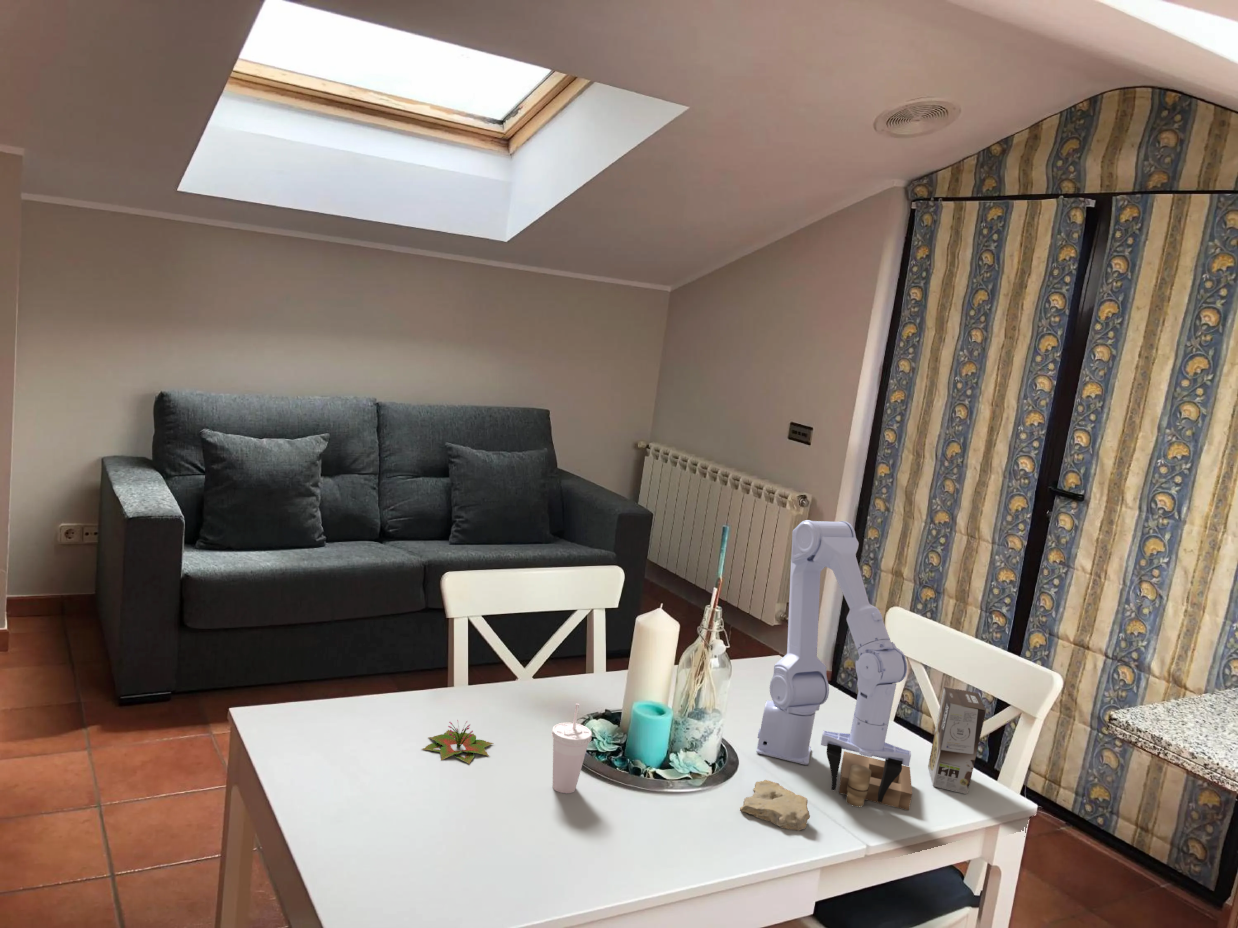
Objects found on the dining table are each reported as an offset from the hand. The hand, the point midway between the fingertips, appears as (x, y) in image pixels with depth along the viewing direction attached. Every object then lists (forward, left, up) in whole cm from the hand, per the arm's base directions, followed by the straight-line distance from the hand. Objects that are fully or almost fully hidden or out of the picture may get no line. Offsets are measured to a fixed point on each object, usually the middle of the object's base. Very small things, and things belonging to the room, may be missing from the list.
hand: (856, 793), depth 166 cm
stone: (-14, -11, -2) cm, 18 cm away
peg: (0, 0, -2) cm, 2 cm away
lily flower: (-66, -16, -2) cm, 68 cm away
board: (+3, +7, -2) cm, 8 cm away
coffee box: (+16, +19, -2) cm, 25 cm away
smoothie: (-46, -20, -2) cm, 50 cm away
